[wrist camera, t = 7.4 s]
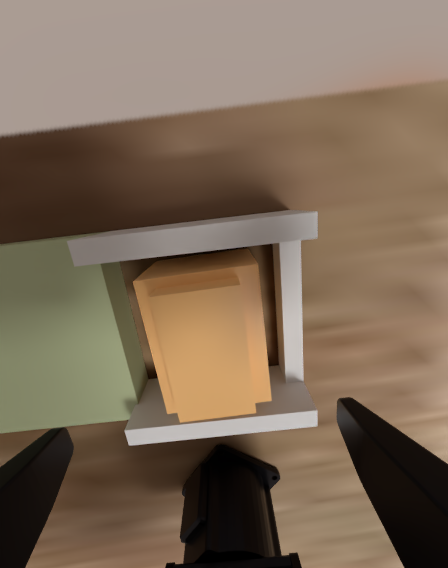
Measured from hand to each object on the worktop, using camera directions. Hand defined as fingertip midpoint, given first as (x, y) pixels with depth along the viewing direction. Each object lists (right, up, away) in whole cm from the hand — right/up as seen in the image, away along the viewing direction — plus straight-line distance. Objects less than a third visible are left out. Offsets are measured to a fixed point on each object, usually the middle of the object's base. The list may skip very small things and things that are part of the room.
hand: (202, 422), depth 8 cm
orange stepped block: (0, +3, +9) cm, 10 cm away
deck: (-9, +2, +9) cm, 13 cm away
